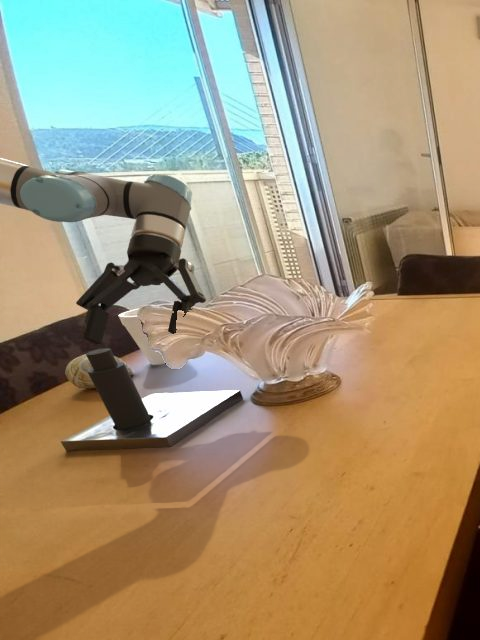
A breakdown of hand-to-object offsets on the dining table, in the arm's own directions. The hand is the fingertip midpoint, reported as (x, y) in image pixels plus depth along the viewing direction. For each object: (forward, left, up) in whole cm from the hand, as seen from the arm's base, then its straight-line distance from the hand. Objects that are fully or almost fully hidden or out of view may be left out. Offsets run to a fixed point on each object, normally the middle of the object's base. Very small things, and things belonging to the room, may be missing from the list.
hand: (134, 337), depth 89 cm
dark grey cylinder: (+1, -8, -16) cm, 18 cm away
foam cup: (-24, +28, -16) cm, 40 cm away
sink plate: (+3, -5, -16) cm, 17 cm away
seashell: (-27, +15, -16) cm, 35 cm away
